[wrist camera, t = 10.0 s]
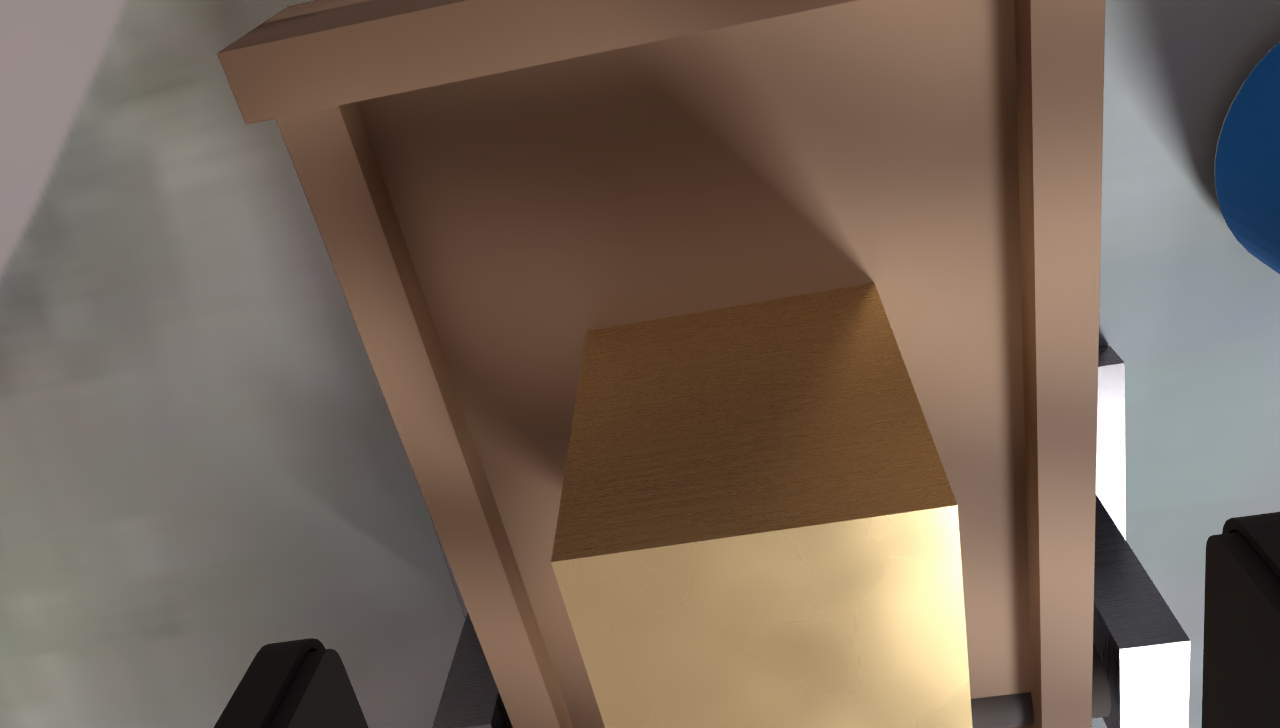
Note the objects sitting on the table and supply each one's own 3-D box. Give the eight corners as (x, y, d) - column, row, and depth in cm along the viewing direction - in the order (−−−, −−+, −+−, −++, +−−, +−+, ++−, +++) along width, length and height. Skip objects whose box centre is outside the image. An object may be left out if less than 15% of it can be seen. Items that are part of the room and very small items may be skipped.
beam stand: (1114, 655, 30) (1220, 855, 24) (515, 726, 32) (473, 926, 26) (1109, 346, 26) (1237, 493, 20) (424, 452, 28) (349, 613, 22)
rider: (898, 512, 20) (976, 777, 15) (644, 548, 21) (633, 815, 15) (874, 282, 18) (957, 505, 12) (586, 331, 18) (551, 562, 13)
